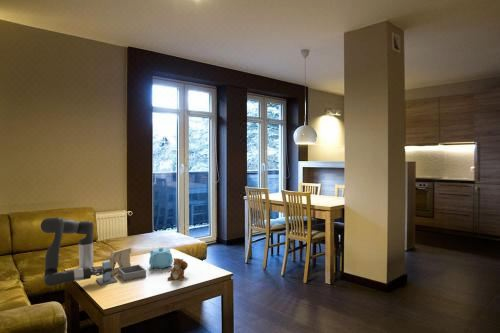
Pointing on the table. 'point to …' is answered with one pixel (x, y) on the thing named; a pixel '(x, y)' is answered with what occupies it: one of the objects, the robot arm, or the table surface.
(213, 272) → the table surface
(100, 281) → the stud plate
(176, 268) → the stuffed squirrel
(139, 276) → the bin
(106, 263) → the strut
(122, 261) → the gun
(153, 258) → the decorative pot
